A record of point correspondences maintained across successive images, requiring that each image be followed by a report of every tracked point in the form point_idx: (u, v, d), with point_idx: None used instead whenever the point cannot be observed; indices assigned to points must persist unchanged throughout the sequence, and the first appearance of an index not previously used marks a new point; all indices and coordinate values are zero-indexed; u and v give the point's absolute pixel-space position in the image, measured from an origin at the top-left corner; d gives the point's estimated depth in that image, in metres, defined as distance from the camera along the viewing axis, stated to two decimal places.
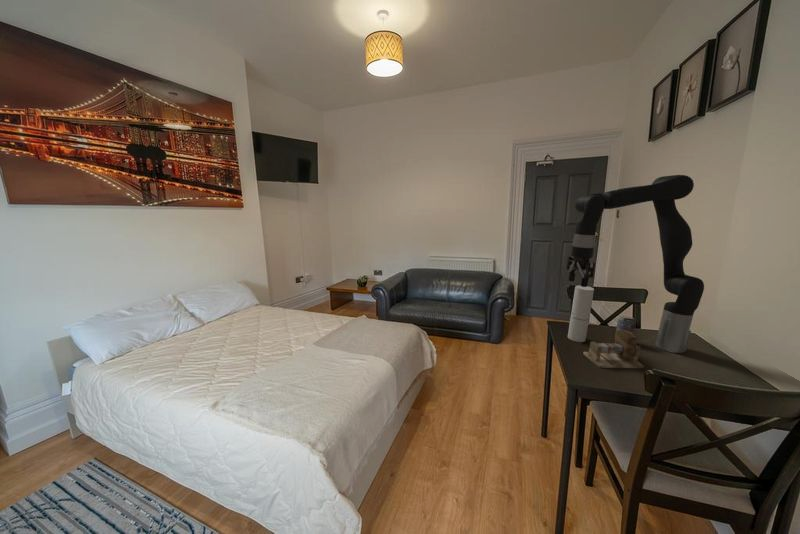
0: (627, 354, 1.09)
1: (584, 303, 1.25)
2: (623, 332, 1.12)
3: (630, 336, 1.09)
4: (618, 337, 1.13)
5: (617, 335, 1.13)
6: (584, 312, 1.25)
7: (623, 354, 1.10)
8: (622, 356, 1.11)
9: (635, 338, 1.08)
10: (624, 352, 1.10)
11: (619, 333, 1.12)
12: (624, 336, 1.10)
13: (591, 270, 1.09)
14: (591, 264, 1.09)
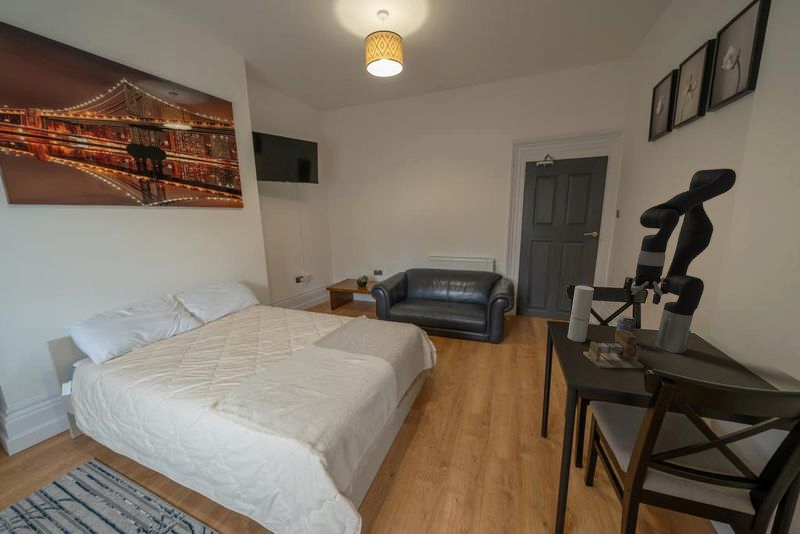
0: (627, 354, 1.09)
1: (584, 303, 1.25)
2: (623, 332, 1.12)
3: (630, 336, 1.09)
4: (618, 337, 1.13)
5: (617, 335, 1.13)
6: (584, 312, 1.25)
7: (623, 354, 1.10)
8: (622, 356, 1.11)
9: (635, 338, 1.08)
10: (624, 352, 1.10)
11: (619, 333, 1.12)
12: (624, 336, 1.10)
13: None
14: None
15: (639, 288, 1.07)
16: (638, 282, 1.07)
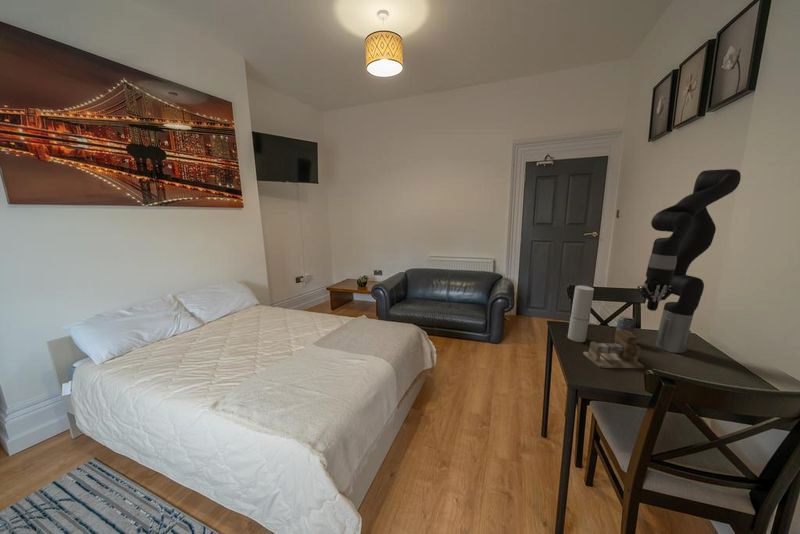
0: (627, 354, 1.09)
1: (584, 303, 1.25)
2: (623, 332, 1.12)
3: (630, 336, 1.09)
4: (618, 337, 1.13)
5: (617, 335, 1.13)
6: (584, 312, 1.25)
7: (623, 354, 1.10)
8: (622, 356, 1.11)
9: (635, 338, 1.08)
10: (624, 352, 1.10)
11: (619, 333, 1.12)
12: (624, 336, 1.10)
13: None
14: None
15: (656, 294, 1.05)
16: (650, 289, 1.06)
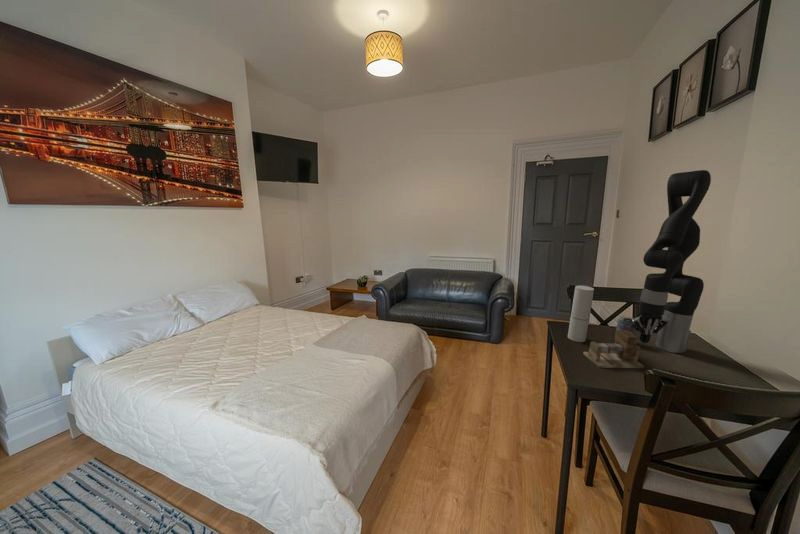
0: (627, 354, 1.09)
1: (584, 303, 1.25)
2: (623, 332, 1.12)
3: (630, 336, 1.09)
4: (618, 337, 1.13)
5: (617, 335, 1.13)
6: (584, 312, 1.25)
7: (623, 354, 1.10)
8: (622, 356, 1.11)
9: (635, 338, 1.08)
10: (624, 352, 1.10)
11: (619, 333, 1.12)
12: (624, 336, 1.10)
13: None
14: None
15: (648, 327, 1.08)
16: (643, 323, 1.09)
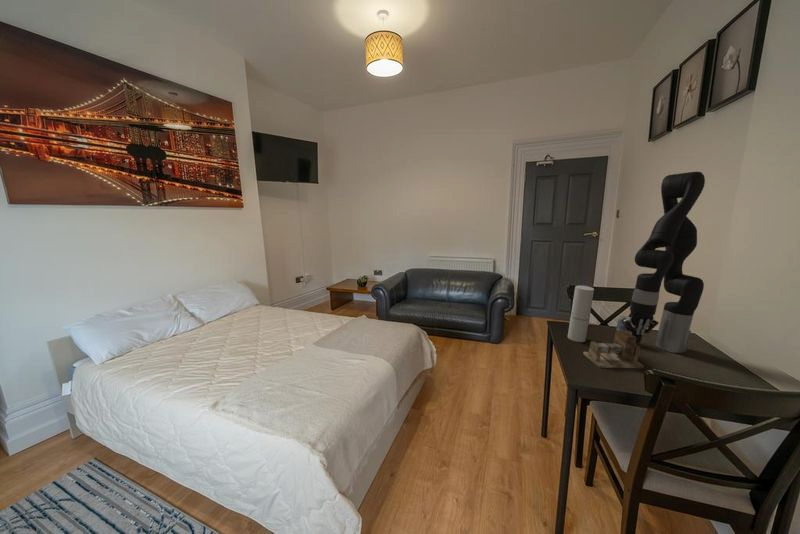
0: (626, 354, 1.09)
1: (584, 303, 1.25)
2: (622, 332, 1.12)
3: (629, 336, 1.09)
4: (617, 337, 1.13)
5: (616, 335, 1.13)
6: (584, 312, 1.25)
7: (622, 354, 1.10)
8: (621, 356, 1.11)
9: (634, 338, 1.08)
10: (623, 352, 1.10)
11: (618, 333, 1.12)
12: (623, 336, 1.10)
13: None
14: None
15: (639, 327, 1.08)
16: (634, 323, 1.09)
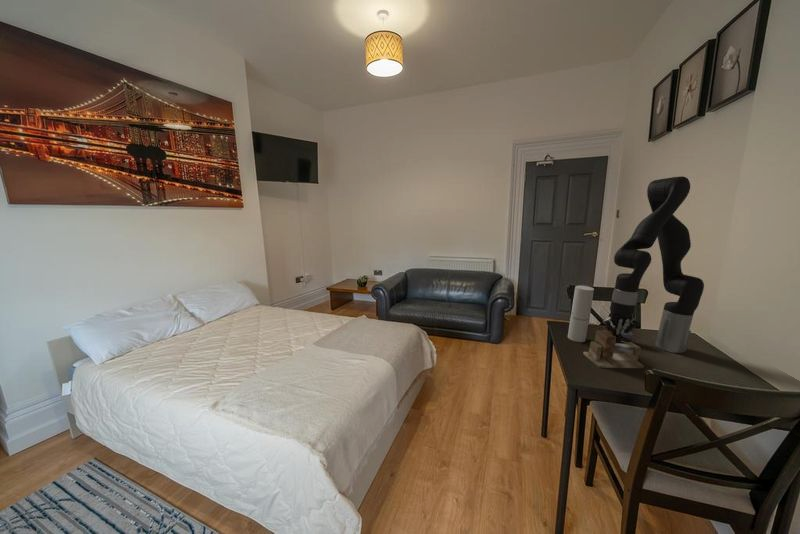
0: (606, 354, 1.09)
1: (584, 303, 1.25)
2: (602, 332, 1.12)
3: (609, 336, 1.09)
4: (597, 337, 1.13)
5: (597, 335, 1.13)
6: (584, 312, 1.25)
7: (602, 354, 1.10)
8: (601, 356, 1.11)
9: (614, 338, 1.08)
10: (603, 352, 1.10)
11: (599, 333, 1.12)
12: (603, 336, 1.10)
13: None
14: None
15: (619, 327, 1.08)
16: (614, 323, 1.09)
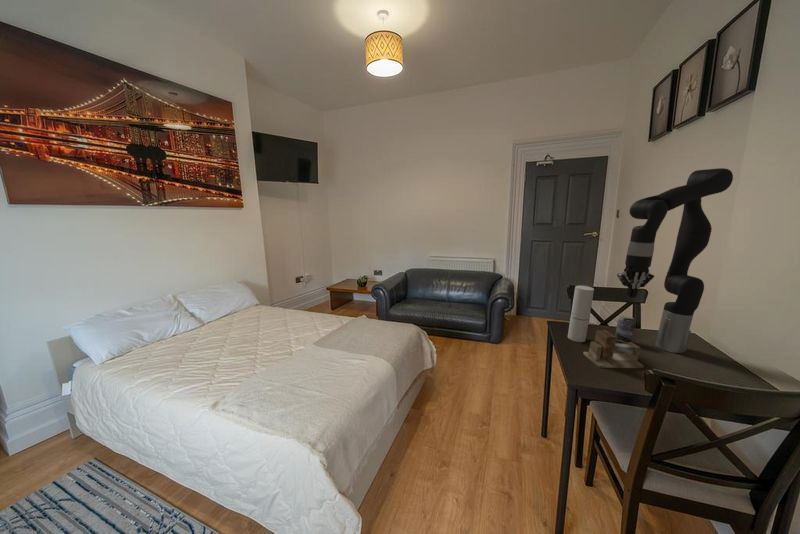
0: (606, 354, 1.09)
1: (584, 303, 1.25)
2: (602, 332, 1.12)
3: (609, 336, 1.09)
4: (597, 337, 1.13)
5: (597, 335, 1.13)
6: (584, 312, 1.25)
7: (602, 354, 1.10)
8: (601, 356, 1.11)
9: (614, 338, 1.08)
10: (603, 352, 1.10)
11: (599, 333, 1.12)
12: (603, 336, 1.10)
13: None
14: None
15: (635, 281, 1.07)
16: (630, 277, 1.07)
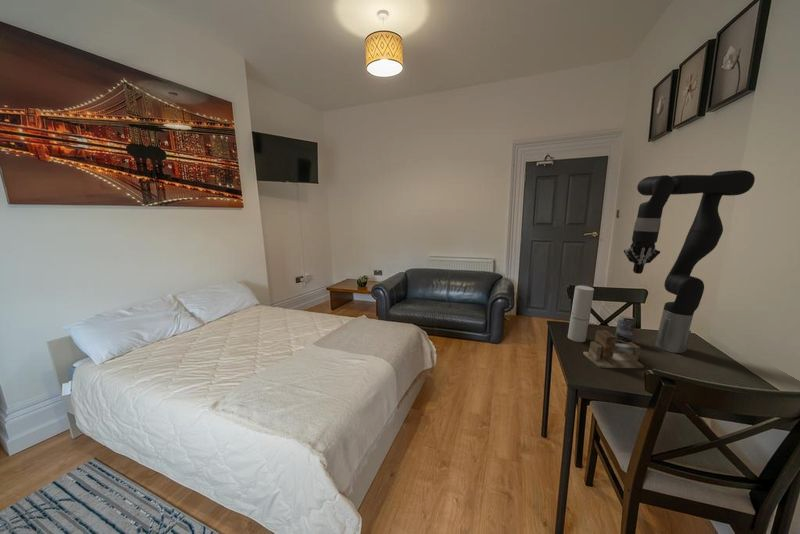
0: (606, 354, 1.09)
1: (584, 303, 1.25)
2: (602, 332, 1.12)
3: (609, 336, 1.09)
4: (597, 337, 1.13)
5: (597, 335, 1.13)
6: (584, 312, 1.25)
7: (602, 354, 1.10)
8: (601, 356, 1.11)
9: (614, 338, 1.08)
10: (603, 352, 1.10)
11: (599, 333, 1.12)
12: (603, 336, 1.10)
13: None
14: None
15: (641, 256, 1.09)
16: (636, 252, 1.09)
